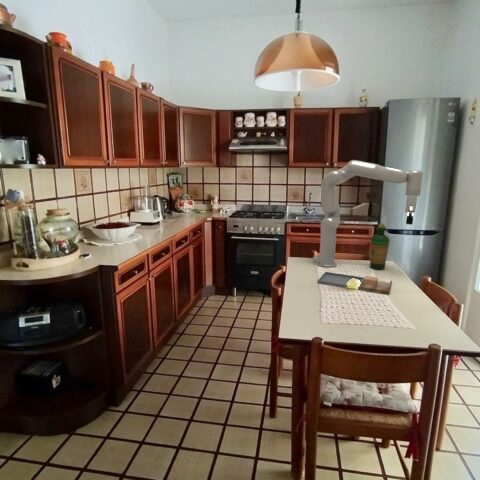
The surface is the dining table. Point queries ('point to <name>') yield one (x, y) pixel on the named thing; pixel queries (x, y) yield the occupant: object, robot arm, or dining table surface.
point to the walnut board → (375, 288)
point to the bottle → (379, 248)
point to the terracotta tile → (370, 280)
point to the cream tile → (383, 282)
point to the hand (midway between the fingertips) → (409, 223)
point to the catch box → (337, 279)
